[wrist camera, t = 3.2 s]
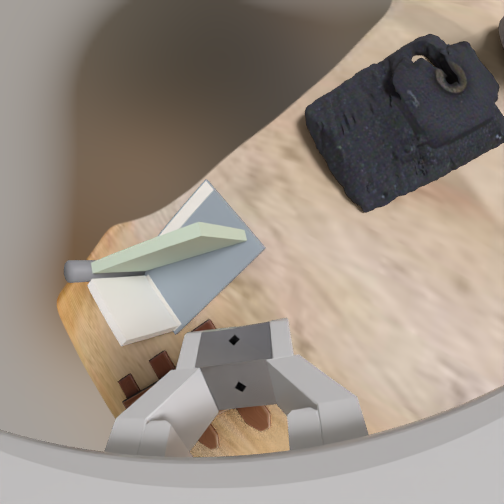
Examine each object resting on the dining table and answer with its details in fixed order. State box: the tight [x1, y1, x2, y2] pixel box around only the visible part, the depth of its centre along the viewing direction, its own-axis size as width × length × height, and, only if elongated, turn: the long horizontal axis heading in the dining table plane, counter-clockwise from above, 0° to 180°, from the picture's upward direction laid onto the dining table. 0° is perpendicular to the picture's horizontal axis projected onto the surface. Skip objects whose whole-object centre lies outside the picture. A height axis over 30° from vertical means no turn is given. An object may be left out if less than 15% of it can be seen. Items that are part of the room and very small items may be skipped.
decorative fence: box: [118, 319, 271, 449], centre depth 38 cm, size 23×2×15 cm
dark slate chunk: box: [305, 34, 504, 212], centre depth 26 cm, size 15×22×5 cm
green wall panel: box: [91, 222, 247, 273], centre depth 33 cm, size 15×1×9 cm, turn 104°
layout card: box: [144, 180, 265, 335], centre depth 38 cm, size 11×16×1 cm
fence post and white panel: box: [64, 260, 178, 346], centre depth 35 cm, size 11×2×12 cm, turn 42°
